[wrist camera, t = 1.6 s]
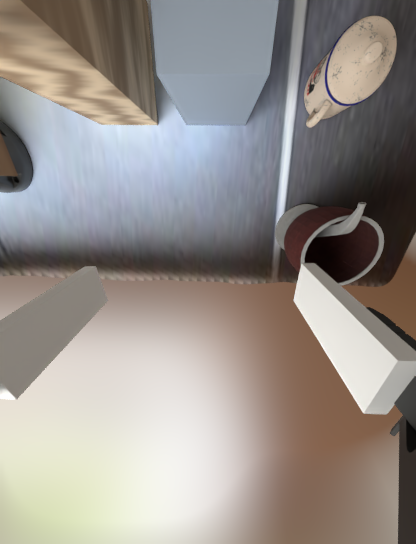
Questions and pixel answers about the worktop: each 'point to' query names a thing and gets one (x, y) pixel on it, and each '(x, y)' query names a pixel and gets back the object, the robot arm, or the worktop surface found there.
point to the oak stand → (82, 56)
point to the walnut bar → (6, 161)
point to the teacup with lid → (351, 68)
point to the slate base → (213, 56)
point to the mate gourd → (331, 240)
